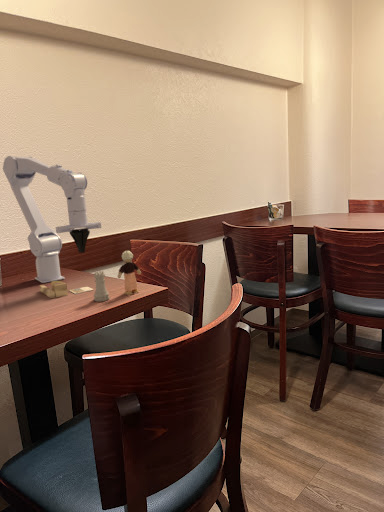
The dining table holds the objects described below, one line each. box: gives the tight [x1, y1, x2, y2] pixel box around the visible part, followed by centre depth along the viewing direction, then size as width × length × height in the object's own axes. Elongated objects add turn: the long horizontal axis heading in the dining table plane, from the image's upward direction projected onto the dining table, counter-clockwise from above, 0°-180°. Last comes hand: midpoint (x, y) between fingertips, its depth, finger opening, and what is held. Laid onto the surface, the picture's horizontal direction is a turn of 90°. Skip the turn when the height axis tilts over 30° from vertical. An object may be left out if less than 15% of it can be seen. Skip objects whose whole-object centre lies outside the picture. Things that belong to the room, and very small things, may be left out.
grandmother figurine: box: [117, 250, 142, 296], centre depth 118 cm, size 8×4×13 cm, turn 142°
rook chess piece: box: [93, 270, 111, 303], centre depth 113 cm, size 4×4×8 cm
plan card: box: [69, 286, 94, 295], centre depth 125 cm, size 5×6×1 cm
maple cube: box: [50, 281, 69, 298], centre depth 121 cm, size 4×4×4 cm
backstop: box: [39, 284, 56, 299], centre depth 123 cm, size 12×1×2 cm, turn 36°
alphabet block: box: [50, 280, 63, 290], centre depth 126 cm, size 3×3×3 cm
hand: (81, 252), depth 133 cm, fingers closed
